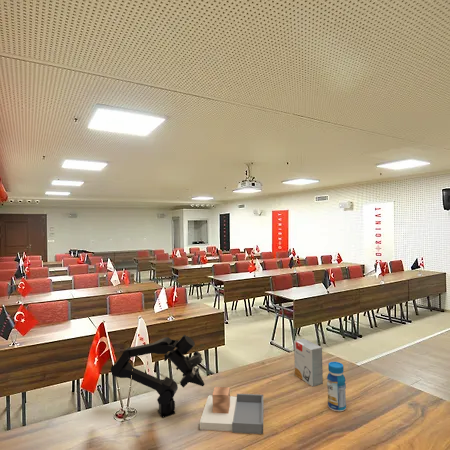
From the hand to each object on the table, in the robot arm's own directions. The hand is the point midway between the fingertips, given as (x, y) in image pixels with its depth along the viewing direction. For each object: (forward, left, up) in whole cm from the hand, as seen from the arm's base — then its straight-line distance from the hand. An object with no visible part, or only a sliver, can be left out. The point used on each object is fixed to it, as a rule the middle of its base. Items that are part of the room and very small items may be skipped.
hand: (203, 385), depth 148 cm
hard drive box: (+64, -2, -14) cm, 65 cm away
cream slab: (+5, -4, -13) cm, 15 cm away
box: (+16, -12, -13) cm, 24 cm away
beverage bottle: (+55, -29, -14) cm, 63 cm away
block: (+6, -5, -10) cm, 13 cm away
